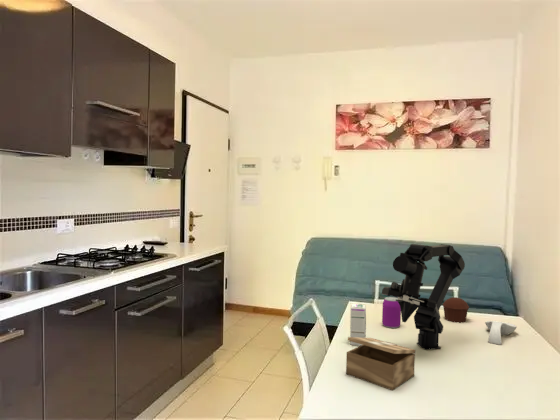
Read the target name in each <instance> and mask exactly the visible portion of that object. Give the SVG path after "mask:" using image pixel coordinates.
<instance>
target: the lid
mask: <svg viewBox="0 0 560 420" xmlns="http://www.w3.org/2000/svg"><path fill="white" fill-rule="evenodd" d="M347 341H348V342H350V341H352V342H355V343H359V344H362V345H366V346H369V347H373V348H376V349H380V350H383V351H387V352H390V353H394V354H403V353H414V354H416V349H413V348H410V347H405V346H402V345H398V344H395V343H393V342H388V341H383V340H380V339H376V338H372V337H366V338H360V337H350V336H348V337H347Z"/></svg>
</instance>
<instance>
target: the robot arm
mask: <svg viewBox="0 0 560 420" xmlns="http://www.w3.org/2000/svg"><path fill="white" fill-rule="evenodd" d="M435 257H438V259H437V261H438V263H439V269H440V274H439V275H438V278H437V281H436V283H435V285H434V287H433V289H432V291H431V293H430V295H429V297H428V298H426V297H421V294H420V292H421V287H423V285H424V283H423V282H422V280H423V276H424V273H425V270H428V266H427V265H426V262H428V261H431V260H432V259H433V258H435ZM465 264H466V263H465V260H464V258H463V256H462V255H461V254H460V253H458V251H457V250H455V248H454V247H453V245H450V244H438V245H435V244H434V245H425V244H417V243H411V244H410V245H409V246H408V248H407V249H406V251H404V252H400V253H399V255H398V256H396V257H395V258H394V260H393V262H392V268H393V269H394V271H396V272H398V273H401V274H402V275H404V278H403V279H402V281H401V283H400V284H399V283H398V282H395V281H391V285H390V286H384V287H382V289H381V295H384V296H386V297H395V298H398V300H397V299H396V301H398V303H399V305H400V309H401V323H407V321H408V320H409V319H410V317H411V316H412V314H413V313H414V312H415V314H414V316H413V320H414V327H415V329H416V330H419V331H418V332H419V333H417V335H418V336H417V342H416V345H417V346H419V347H420V348H422V349H424V350H427V351H428V350H441V349H442V348H441V346H439V338H440V337H439V334H442V332H443V330H444V325H443V323H442V321H441V314H440V309H441V307H442V305H443V303H444V301H445V298H446V295H447V293H448V290H449V289H450V287H451V284H452V282H453V280H455V279H456V278H457V277H459V276H460V275H461V274H462V272H463V271H464V269H465V266H466V265H465Z"/></svg>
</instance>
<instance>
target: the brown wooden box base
mask: <svg viewBox="0 0 560 420" xmlns="http://www.w3.org/2000/svg"><path fill="white" fill-rule="evenodd" d="M345 359H346V362H345V363H346V365H345V366H346V367H345V370H346V371H345V374H346V375H347V376H351V377H353V378H355V379H359V380H362V381H365V382H369V383H371V384H373V385H376V386H379V387H382V388H385V389H388V390H391V391H394V390H395V389H397V388H398V387H400V386H402V385H404V383H406V382H407V381H409V380H410V379H412V378H414V377H415V364H416V363H415V359H416V353H403V354H394V353H390V352H387V351H383V350H380V349H376V348H373V347H369V346H366V345H361V346H357V347H354V348H352V349H350V350H348V351H346V358H345Z"/></svg>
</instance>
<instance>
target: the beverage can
mask: <svg viewBox="0 0 560 420" xmlns="http://www.w3.org/2000/svg"><path fill="white" fill-rule="evenodd" d="M396 299H397V300H398V297H394V296H386V297H384V298H383V301H382V312H381V313H382V315H381V317H382V319H381V324H382V326H383V327H385V328H387V329H397V328H400V326H401V323H402V316H401V309H400V305H399V303H398V301H396Z"/></svg>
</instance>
